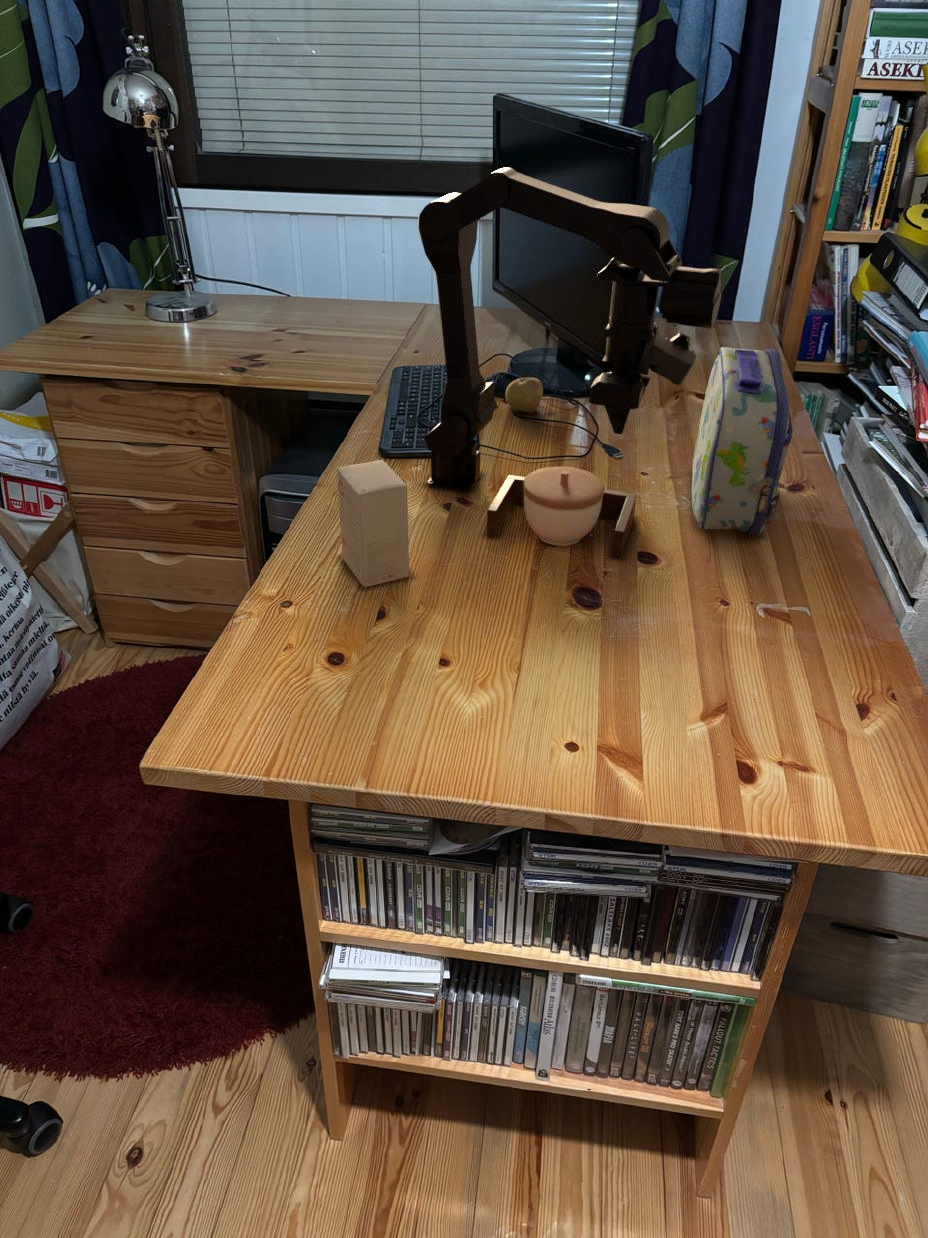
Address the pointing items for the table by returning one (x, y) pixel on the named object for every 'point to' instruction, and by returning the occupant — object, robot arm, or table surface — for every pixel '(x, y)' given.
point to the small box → (373, 522)
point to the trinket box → (562, 503)
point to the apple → (524, 394)
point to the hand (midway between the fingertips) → (618, 432)
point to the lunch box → (741, 442)
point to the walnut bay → (612, 508)
